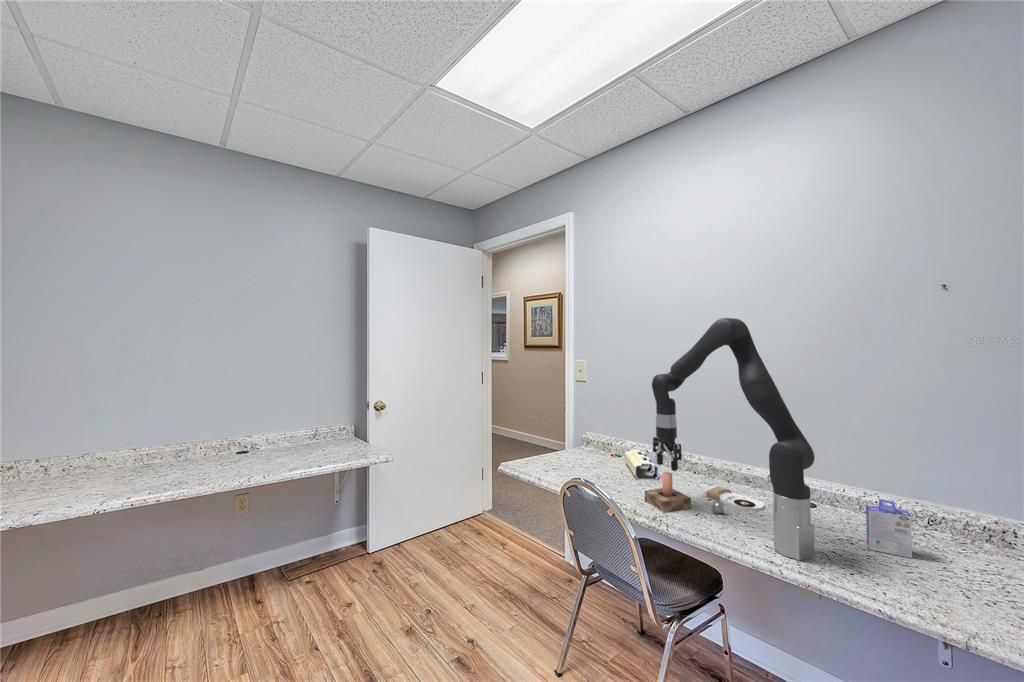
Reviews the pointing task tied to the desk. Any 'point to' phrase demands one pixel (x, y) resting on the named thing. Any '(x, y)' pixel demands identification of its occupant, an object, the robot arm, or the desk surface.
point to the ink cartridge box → (889, 529)
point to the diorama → (640, 461)
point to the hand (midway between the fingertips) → (667, 467)
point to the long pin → (667, 484)
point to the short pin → (718, 508)
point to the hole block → (667, 500)
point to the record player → (733, 499)
